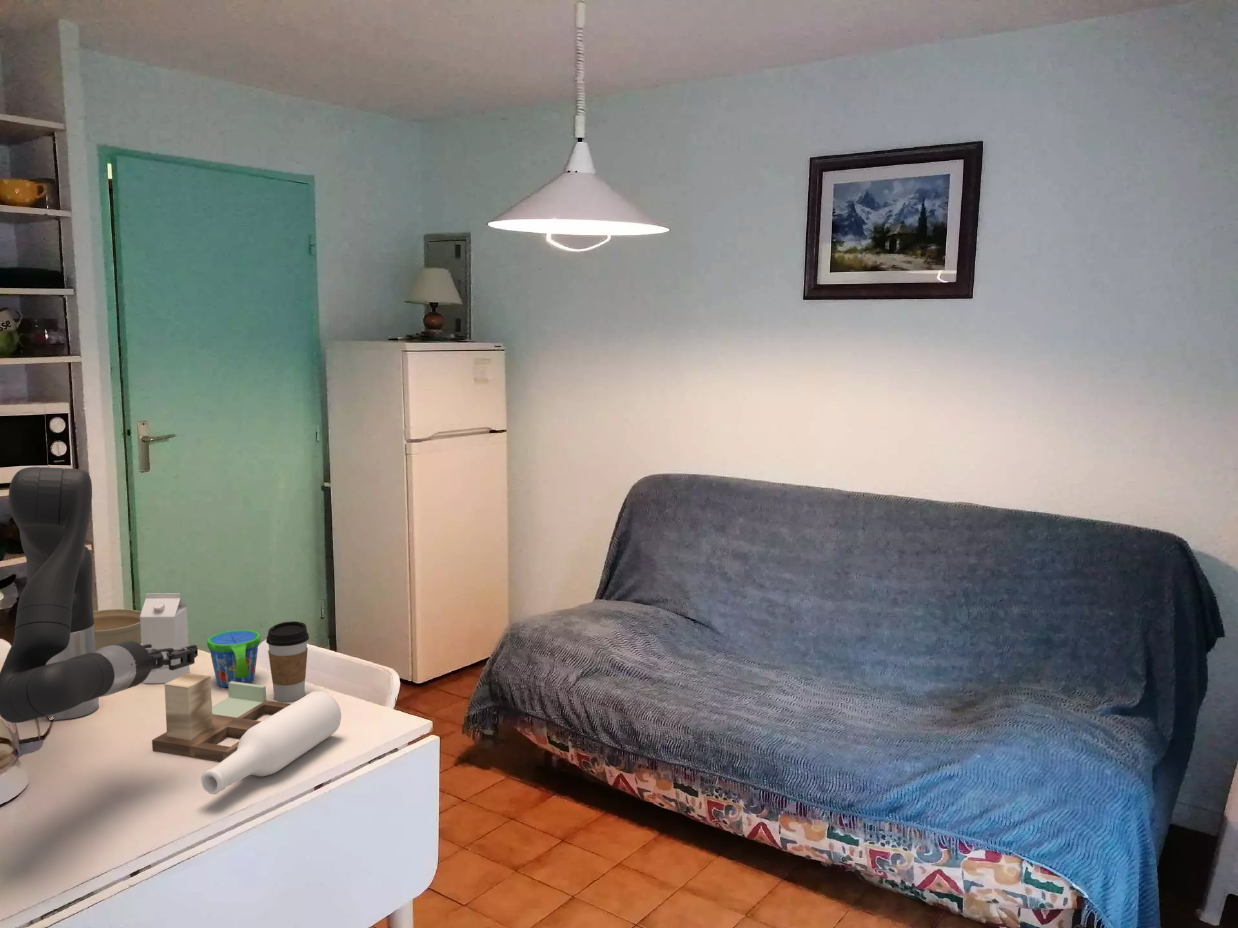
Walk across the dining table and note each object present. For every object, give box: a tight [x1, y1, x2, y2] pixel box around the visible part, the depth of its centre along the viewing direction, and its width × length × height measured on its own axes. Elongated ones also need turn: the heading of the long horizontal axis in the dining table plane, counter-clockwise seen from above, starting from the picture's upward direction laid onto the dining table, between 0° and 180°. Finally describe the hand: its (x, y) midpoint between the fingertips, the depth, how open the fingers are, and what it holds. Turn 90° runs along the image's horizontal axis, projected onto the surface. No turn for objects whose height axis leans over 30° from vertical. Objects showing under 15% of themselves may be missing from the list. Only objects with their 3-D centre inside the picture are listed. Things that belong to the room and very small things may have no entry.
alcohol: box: [200, 691, 342, 795], centre depth 163 cm, size 9×9×30 cm
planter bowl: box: [93, 608, 142, 649], centre depth 210 cm, size 16×16×11 cm
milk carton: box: [140, 592, 190, 684], centre depth 203 cm, size 7×7×19 cm
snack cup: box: [206, 629, 261, 688], centre depth 202 cm, size 16×10×10 cm
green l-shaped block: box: [212, 681, 267, 718], centre depth 185 cm, size 9×8×5 cm
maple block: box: [164, 672, 213, 740], centre depth 172 cm, size 6×5×10 cm
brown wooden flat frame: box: [151, 699, 292, 763], centre depth 178 cm, size 22×16×2 cm
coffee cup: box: [265, 620, 310, 703], centre depth 194 cm, size 8×8×15 cm
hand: (172, 650), depth 166 cm, fingers open, 8 cm apart
